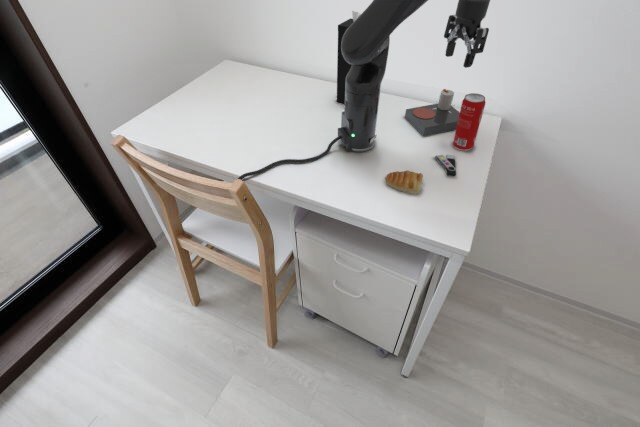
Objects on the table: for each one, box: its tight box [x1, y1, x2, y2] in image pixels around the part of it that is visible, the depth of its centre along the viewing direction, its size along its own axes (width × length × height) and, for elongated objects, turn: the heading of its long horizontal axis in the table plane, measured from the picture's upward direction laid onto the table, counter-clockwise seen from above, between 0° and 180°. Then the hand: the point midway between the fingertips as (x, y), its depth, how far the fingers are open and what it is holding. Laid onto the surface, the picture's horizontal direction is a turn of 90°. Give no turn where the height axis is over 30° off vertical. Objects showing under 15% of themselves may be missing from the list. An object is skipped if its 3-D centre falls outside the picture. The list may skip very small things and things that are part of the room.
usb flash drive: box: [434, 154, 457, 177], centre depth 92 cm, size 9×5×1 cm, turn 166°
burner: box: [413, 108, 435, 119], centre depth 107 cm, size 7×7×1 cm
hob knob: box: [437, 88, 455, 110], centre depth 107 cm, size 4×4×5 cm
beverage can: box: [452, 93, 486, 151], centre depth 94 cm, size 6×6×15 cm
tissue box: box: [336, 10, 362, 105], centre depth 110 cm, size 8×8×28 cm
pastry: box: [384, 169, 424, 195], centre depth 86 cm, size 9×7×4 cm
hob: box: [404, 100, 460, 137], centre depth 108 cm, size 16×13×3 cm
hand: (457, 61), depth 97 cm, fingers open, 8 cm apart
